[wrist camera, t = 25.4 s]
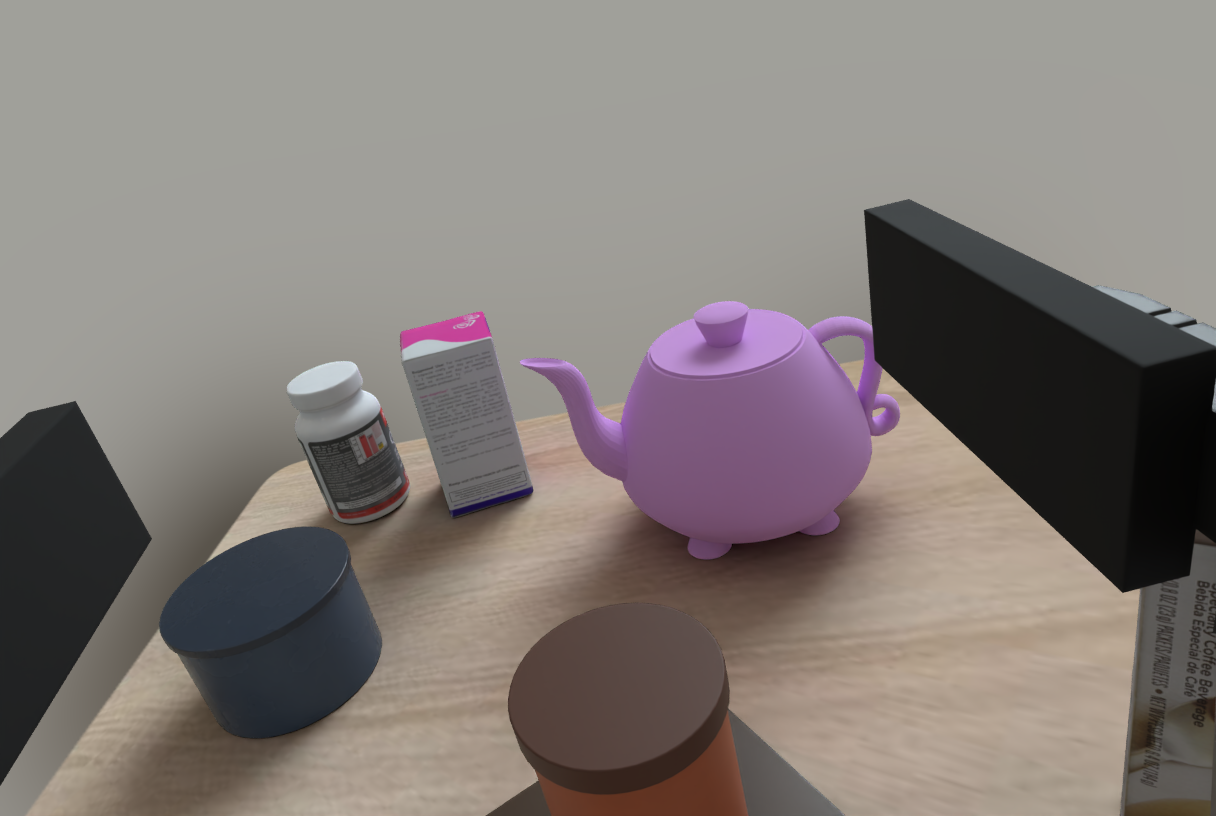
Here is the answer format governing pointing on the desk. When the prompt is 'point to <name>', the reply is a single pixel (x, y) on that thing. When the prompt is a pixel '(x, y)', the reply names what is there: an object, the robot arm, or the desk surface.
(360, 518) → the pill bottle
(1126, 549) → the robot arm
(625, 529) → the desk surface
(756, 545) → the desk surface
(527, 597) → the desk surface
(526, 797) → the plate
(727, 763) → the canister
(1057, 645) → the desk surface
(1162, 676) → the coffee box
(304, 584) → the tin
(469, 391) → the supplement box
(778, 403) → the teapot
